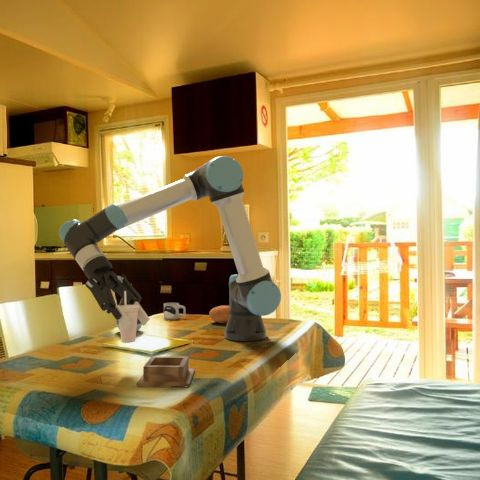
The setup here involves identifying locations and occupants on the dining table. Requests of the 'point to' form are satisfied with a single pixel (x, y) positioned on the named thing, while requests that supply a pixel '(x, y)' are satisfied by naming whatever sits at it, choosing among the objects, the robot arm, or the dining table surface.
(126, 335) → the smoothie
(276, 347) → the dining table surface
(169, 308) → the mug
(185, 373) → the box
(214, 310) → the potato
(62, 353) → the dining table surface
